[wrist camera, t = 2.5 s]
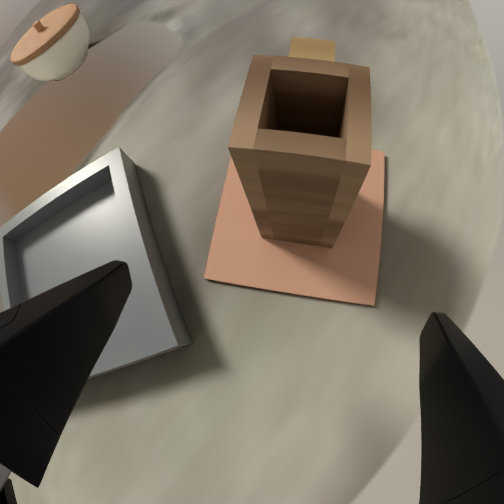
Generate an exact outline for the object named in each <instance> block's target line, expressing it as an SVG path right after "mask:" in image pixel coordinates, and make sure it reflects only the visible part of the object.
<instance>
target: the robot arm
mask: <svg viewBox="0 0 504 504" xmlns="http://www.w3.org/2000/svg"><path fill="white" fill-rule="evenodd" d="M131 290H132V280H131V275H130V271H129V266H128V264H127V263H126V262H124V261H119V260H113V261H111V262H109V263H106V264H104V265H102V266H100V267H97V268H95V269H93V270H91V271H88V272H86V273H84V274H82V275H80V276H77V277H75V278H73V279H71V280H69V281H66V282H64V283H62V284H60V285H58V286H56V287H53V288H51V289H49V290H47V291H45V292H43V293H41V294H39V295H37V296H34V297H32V298H30V299H28V300H26V301H24V302H23V303H20V304H18V305H16V306H14V307H12V308H10V309H7V310H5V311H3V312H1V313H0V504H17V501H16V498H15V494H14V490H13V485H12V481H11V480H10V479H9V478H8V477H9V475H10V473H11V472H13V473H15V474H16V475H18V476H19V477H21V478H22V479H24V480H26V481H27V482H29V483H30V484H32V485H34V486H35V487H37V488H38V487H39V485H40V483H41V481H42V478H43V476H44V473H45V471H46V468H47V466H48V464H49V461H50V459H51V457H52V454H53V452H54V450H55V447H56V445H57V443H58V441H59V438H60V436H61V434H62V431H63V429H64V427H65V425H66V423H67V421H68V418H69V416H70V414H71V412H72V410H73V408H74V406H75V404H76V402H77V400H78V398H79V396H80V394H81V392H82V390H83V388H84V386H85V384H86V382H87V380H88V378H89V376H90V374H91V372H92V370H93V368H94V366H95V364H96V362H97V361H98V359H99V357H100V355H101V353H102V351H103V349H104V347H105V346H106V344H107V342H108V340H109V338H110V336H111V335H112V333H113V331H114V329H115V327H116V324H117V322H118V320H119V318H120V315H121V313H122V311H123V308H124V306H125V304H126V302H127V299H128V297H129V295H130V293H131ZM419 389H420V407H421V437H422V438H421V439H422V455H421V456H422V457H421V486H420V501H419V504H504V380H503V378H502V377H501V376H500V375H499V374H498V372H497V371H496V370H495V369H494V367H493V366H492V365H491V364H490V363H489V362H488V360H487V359H486V358H485V357H484V356H483V355H482V353H480V351H479V350H478V349H477V348H476V347H475V345H474V344H473V343H472V342H471V341H470V340H469V339H468V338H467V337H466V335H465V334H464V333H463V332H462V331H461V330H460V329H459V328H458V327H457V326H456V324H455V323H454V322H453V321H452V320H451V319H450V318H449V317H448V316H447V315H446V314H445V313H439V312H433V313H431V314H430V316H429V318H428V320H427V322H426V324H425V326H424V328H423V330H422V332H421V334H420V373H419Z"/></svg>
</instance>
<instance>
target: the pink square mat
mask: <svg viewBox="0 0 504 504" xmlns="http://www.w3.org/2000/svg"><path fill="white" fill-rule="evenodd" d="M383 203H384V152H381V151H376V150H371V167H370V169H369V171H368V173H367V176H366V178H365V180H364V182H363V185H362V187H361V189H360V191H359V193H358V195H357V198H356V200H355V202H354V204H353V206H352V208H351V211H350V213H349V215H348V217H347V219H346V221H345V223H344V225H343V227H342V229H341V231H340V234H339V236H338V238H337V240H336V242H335V244H334V246H333V248H327V247H320V246H314V245H307V244H300V243H294V242H287V241H280V240H273V239H267V238H261V235H260V232H259V230H258V227H257V224H256V221H255V219H254V216H253V213H252V211H251V208H250V205H249V202H248V200H247V197H246V194H245V192H244V189H243V186H242V184H241V181H240V178H239V175H238V173H237V170H236V167H235V165H234V162H233V159H232V157H231V159H230V163H229V167H228V172H227V176H226V180H225V184H224V189H223V193H222V197H221V202H220V206H219V210H218V215H217V219H216V224H215V228H214V233H213V238H212V242H211V247H210V251H209V256H208V261H207V266H206V271H205V275H204V279H207V280H213V281H219V282H224V283H230V284H236V285H241V286H247V287H253V288H259V289H265V290H271V291H277V292H283V293H289V294H296V295H302V296H309V297H315V298H322V299H328V300H335V301H342V302H349V303H356V304H363V305H370V306H374V305H375V297H376V289H377V281H378V271H379V261H380V250H381V238H382V223H383Z"/></svg>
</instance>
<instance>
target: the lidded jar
mask: <svg viewBox="0 0 504 504" xmlns="http://www.w3.org/2000/svg"><path fill="white" fill-rule="evenodd" d="M89 42H90V34H89V29H88V26H87V24H86V21H85V19H84V17H83V16H82V14H81V13H80V10H79V8H78V6H77V5H76V4H68V5H65V6H62V7H60V8H58V9H56V10H54V11H52V12H51V13H49V14H48V15H46V16H45V17H43V18H42V19H41V20H37V21H36V22H35V23H34V24H33V25H32V27H31V28H30V29H29V30H28V31H27V32H26V33H25V35H24V36H23V37H22V38H21V39H20V41H19V42H18V43H17V45H16V46H15V48H14V50H13V52H12V54H11V61H12V62H13V63H14V64H15V65H17V66H18V67H19V68H20V69H21V70H22V71H23V72H24V73H25V74H27V75H28V76H30V77H32V78H34V79H37V80H40V81H51V80H55V81H59V80H62V79H64V78H66V77H68V76H69V75H70V74H72V73H73V72H74V71H75V70H76V69H78V68H79V67H80V66H81V64H82V63H83V62H84V60H85V59H86V56H87V50H88V46H89Z"/></svg>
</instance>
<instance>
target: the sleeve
mask: <svg viewBox="0 0 504 504" xmlns="http://www.w3.org/2000/svg"><path fill="white" fill-rule="evenodd" d="M371 142H372V128H371V88H370V69H369V67H365V66H359V65H353V64H347V63H340V62H335V41H330V40H321V39H312V38H301V37H292V41H291V46H290V52H289V57H284V56H266V55H253V58H252V61H251V64H250V68H249V71H248V75H247V78H246V82H245V85H244V89H243V92H242V96H241V100H240V103H239V107H238V111H237V114H236V118H235V122H234V125H233V129H232V133H231V137H230V141H229V145H228V149H229V151H230V154H231V157H232V159H233V162H234V165H235V167H236V170H237V173H238V175H239V178H240V181H241V184H242V186H243V189H244V192H245V194H246V197H247V200H248V202H249V205H250V208H251V211H252V213H253V216H254V219H255V221H256V224H257V227H258V230H259V232H260V235H261V238H267V239H273V240H280V241H287V242H294V243H300V244H307V245H314V246H320V247H327V248H333V246H334V244H335V242H336V240H337V238H338V236H339V234H340V231H341V229H342V227H343V225H344V223H345V221H346V219H347V217H348V215H349V213H350V211H351V208H352V206H353V204H354V202H355V200H356V198H357V195H358V193H359V191H360V189H361V187H362V185H363V182H364V180H365V178H366V176H367V173H368V171H369V169H370V167H371Z"/></svg>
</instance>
